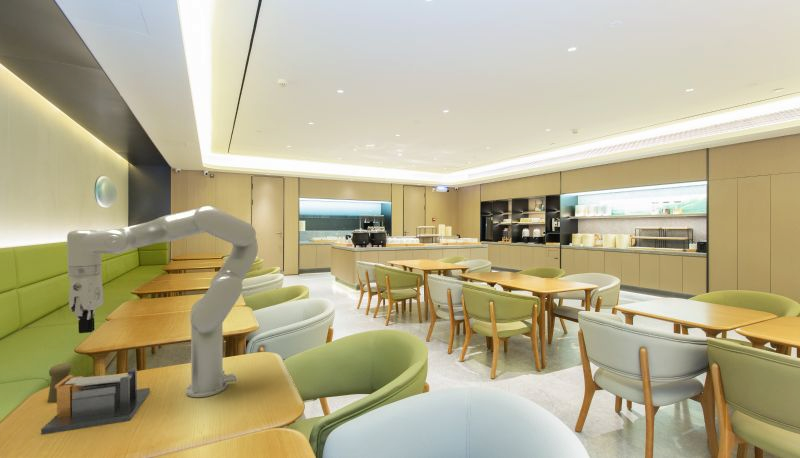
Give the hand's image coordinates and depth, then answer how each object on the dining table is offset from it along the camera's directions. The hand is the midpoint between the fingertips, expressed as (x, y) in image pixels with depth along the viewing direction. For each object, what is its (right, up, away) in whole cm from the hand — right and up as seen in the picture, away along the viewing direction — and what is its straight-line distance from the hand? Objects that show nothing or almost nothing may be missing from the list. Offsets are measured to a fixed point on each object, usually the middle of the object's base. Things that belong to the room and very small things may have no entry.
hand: (86, 331), depth 106 cm
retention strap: (+3, -16, +1) cm, 16 cm away
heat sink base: (+3, -25, +2) cm, 25 cm away
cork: (-17, -25, +9) cm, 31 cm away
